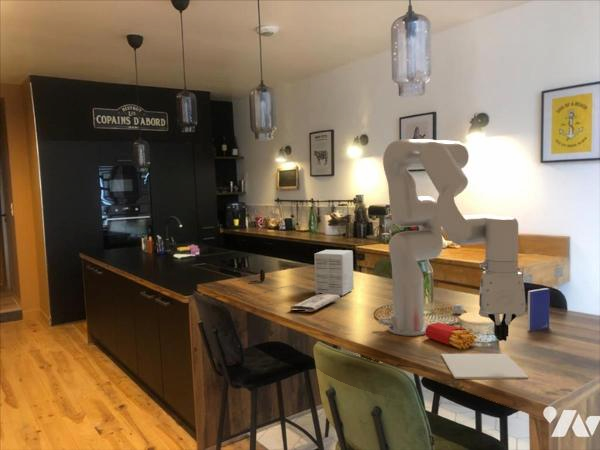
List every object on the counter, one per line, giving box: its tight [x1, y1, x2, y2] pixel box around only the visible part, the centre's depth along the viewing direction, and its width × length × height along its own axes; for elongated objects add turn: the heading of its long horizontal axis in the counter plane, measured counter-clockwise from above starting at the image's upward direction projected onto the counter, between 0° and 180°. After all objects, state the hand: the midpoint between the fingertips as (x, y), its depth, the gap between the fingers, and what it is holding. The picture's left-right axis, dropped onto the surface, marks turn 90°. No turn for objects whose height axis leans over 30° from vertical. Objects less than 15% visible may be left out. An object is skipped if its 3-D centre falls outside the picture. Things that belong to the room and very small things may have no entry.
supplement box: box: [313, 249, 355, 296], centre depth 219 cm, size 13×13×18 cm
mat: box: [440, 353, 530, 380], centre depth 127 cm, size 17×16×1 cm
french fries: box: [425, 322, 478, 350], centre depth 146 cm, size 9×4×13 cm
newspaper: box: [289, 293, 341, 312], centre depth 196 cm, size 23×12×2 cm, turn 151°
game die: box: [452, 303, 464, 315], centre depth 178 cm, size 4×4×3 cm
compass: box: [248, 268, 266, 285], centre depth 239 cm, size 8×8×7 cm
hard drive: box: [527, 287, 551, 332], centre depth 156 cm, size 2×8×12 cm, turn 114°
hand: (501, 339), depth 126 cm, fingers closed
